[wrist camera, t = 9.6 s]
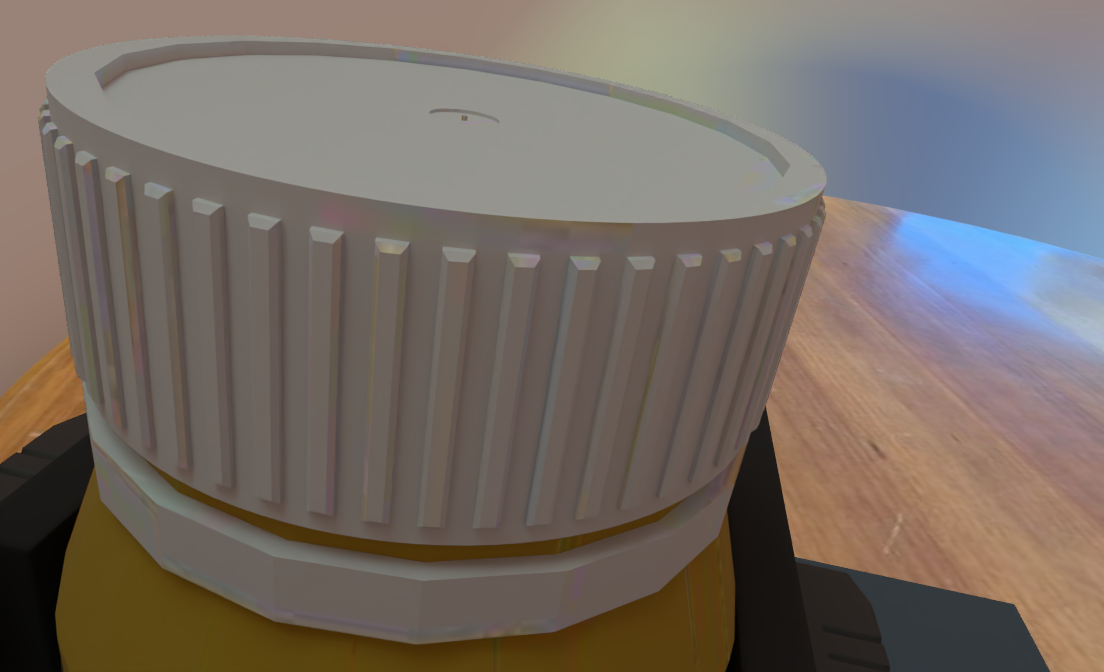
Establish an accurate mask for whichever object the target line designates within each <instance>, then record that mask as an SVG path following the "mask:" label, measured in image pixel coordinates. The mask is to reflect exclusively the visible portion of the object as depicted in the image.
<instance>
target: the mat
mask: <svg viewBox="0 0 1104 672" xmlns="http://www.w3.org/2000/svg"><path fill="white" fill-rule="evenodd" d="M795 562H799V563H804V564H808V565H813V566H817V567H822V568H826V569H831V570H835V571H840V572H845V573H848V574H849V575H850V577H851V578H852V579H853V581H854V582H855V583H856V585H857V586H858V587H859V589H860V590H861V591H862V593H863V594H864V595H865V596H866V598H867V599H868V600H869V602H870V603H871V604H872V607H873V610H874V613H875V617H876V620H877V623H878V627H879V630H880V633H881V637H882V640H881V644H882V645H884V647H885V650H886V653H887V657H888V660H889V663H890V672H1050V671H1049V669H1048V667H1047V665H1046V663H1045V661H1044V659H1043V658H1042V656H1041V654H1040V652H1039V650H1038V648H1037V646H1036V644H1035V642H1034V641H1033V639H1032V637H1031V635H1030V633H1029V631H1028V629H1027V627H1026V625H1025V624H1024V622H1023V620H1022V618H1021V616H1020V614H1019V612H1018V610H1017V609H1016V607H1015V605H1014V604H1010V603H1005V602H1001V601H996V600H991V599H987V598H982V597H977V596H973V595H968V594H963V593H959V592H954V591H950V590H945V589H940V588H936V587H931V586H926V585H922V584H917V583H912V582H908V581H903V580H899V579H894V578H889V577H885V576H880V575H875V574H871V573H866V572H862V571H857V570H852V569H848V568H843V567H838V566H834V565H829V564H824V563H820V562H815V561H811V560H806V559H801V558H797V557H795Z"/></svg>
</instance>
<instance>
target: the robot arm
mask: <svg viewBox="0 0 1104 672" xmlns="http://www.w3.org/2000/svg"><path fill="white" fill-rule="evenodd" d="M94 466H95V464H94V458H93V452H92V446H91V440H90V435H89V428H88V420H87V413H84V414H82V415H79V416H77V417H74V418H72V419H69V420H67V421H64V422H62V423H59V424H57V425H54V426H52V427H51V428H50V429H48V430H47V431H46V432H44V433H43V434H41V435H40V436H39V437H37V438H36V439H34V440H33V441H32V442H30V443H29V444H27V445H26V446H25V447H23V449H22V452H21V453H17V452H16V453H15V454H14V455H12V456H11V457H9V458H8V459H7V460H5V461H4V462H2V463H1V464H0V672H61V655H60V650H59V644H58V639H57V629H56V617H55V612H56V606H57V600H58V594H59V588H60V582H61V576H62V570H63V564H64V558H65V553H66V549H67V546H68V543H69V540H70V537H71V534H72V531H73V528H74V525H75V523H76V520H77V517H78V514H79V511H80V508H81V505H82V502H83V499H84V496H85V493H86V490H87V487H88V484H89V481H90V478H91V475H92V472H93V469H94ZM727 514H728V523H729V532H730V541H731V550H732V560H733V569H734V578H735V632H734V643H733V647H732V651H731V656H730V660H729V663H728V666H727V668H726V671H725V672H890V663H889V660H888V657H887V653H886V650H885V647H884V645H882V644H881V640H882V637H881V633H880V630H879V627H878V623H877V620H876V617H875V613H874V610H873V607H872V604H871V603H870V602H869V600H868V599H867V598H866V596H865V595H864V594H863V593H862V591H861V590H860V589H859V587H858V586H857V585H856V583H855V582H854V581H853V579H852V578H851V577H850V575H849V574H848V573H845V572H840V571H835V570H831V569H826V568H822V567H817V566H813V565H808V564H804V563H799V562H795V556H794V551H793V546H792V541H791V535H790V530H789V525H788V520H787V515H786V509H785V504H784V499H783V494H782V489H781V483H780V478H779V473H778V468H777V463H776V457H775V452H774V447H773V442H772V437H771V431H770V426H769V421H768V416H767V411H766V406H765V409H764V411H763V413H762V416H761V419H760V423H759V425H758V427H757V429H756V430H754V431H752V432H751V434H750V437H749V440H748V443H747V446H746V450H745V453H744V456H743V459H742V462H741V466H740V469H739V472H738V475H737V478H736V481H735V485H734V488H733V491H732V494H731V497H730V500H729V504H728V507H727Z"/></svg>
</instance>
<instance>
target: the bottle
mask: <svg viewBox="0 0 1104 672" xmlns="http://www.w3.org/2000/svg"><path fill="white" fill-rule="evenodd" d="M45 81H46V89H47V99H46V100H45V102H44V103H43V104H42V106H41V108H40V116H39V117H38V122H39V129H40V136H41V143H42V150H43V157H44V164H45V172H46V179H47V186H48V192H49V199H50V206H51V214H52V221H53V228H54V235H55V242H56V248H57V255H58V263H59V270H60V277H61V284H62V291H63V298H64V305H65V311H66V319H67V326H68V333H69V340H70V347H71V354H72V356H73V357H74V362H75V369H76V373H77V375H78V377H79V378H80V379H81V380H82V384H83V391H84V399H85V406H86V413H87V420H88V428H89V435H90V440H91V446H92V452H93V458H94V464H95V466H94V469H93V472H92V475H91V478H90V481H89V484H88V487H87V490H86V493H85V496H84V499H83V502H82V505H81V508H80V511H79V514H78V517H77V520H76V523H75V525H74V528H73V531H72V534H71V537H70V540H69V543H68V546H67V549H66V553H65V558H64V564H63V570H62V576H61V582H60V588H59V594H58V600H57V606H56V612H55V617H56V629H57V639H58V644H59V650H60V655H61V672H725V671H726V668H727V666H728V663H729V660H730V656H731V651H732V647H733V643H734V632H735V578H734V569H733V560H732V550H731V541H730V532H729V523H728V514H727V507H728V504H729V500H730V497H731V494H732V491H733V488H734V485H735V481H736V478H737V475H738V472H739V469H740V466H741V462H742V459H743V456H744V453H745V450H746V446H747V443H748V440H749V437H750V434H751V432H752V431H754V430H756V429H757V427H758V425H759V423H760V419H761V416H762V413H763V411H764V409H765V406H766V403H767V400H768V397H769V393H770V390H771V387H772V384H773V381H774V378H775V374H776V371H777V368H778V365H779V362H780V359H781V356H782V352H783V349H784V346H785V343H786V340H787V337H788V334H789V330H790V327H791V324H792V321H793V318H794V315H795V311H796V308H797V305H798V302H799V299H800V296H801V293H802V289H803V286H804V283H805V280H806V277H807V274H808V271H809V267H810V264H811V261H812V258H813V255H814V252H815V248H816V245H817V242H818V239H819V236H820V233H821V230H822V226H823V223H824V220H825V217H826V212H825V203H824V201H823V198H822V195H823V192H824V188H825V185H826V181H827V180H826V174H825V171H824V169H823V168H822V166H821V165H820V164H819V162H818V161H817V160H816V159H815V158H814V157H812V156H811V155H810V154H809V153H807V152H806V151H805V150H803V149H802V148H800V147H799V146H797V145H796V144H794V143H792V142H790V141H789V140H787V139H785V138H783V137H781V136H779V135H777V134H775V133H773V132H771V131H769V130H766V129H764V128H762V127H759V126H757V125H755V124H752V123H750V122H747V121H745V120H742V119H739V118H737V117H734V116H732V115H729V114H726V113H723V112H720V111H717V110H714V109H711V108H708V107H705V106H702V105H699V104H695V103H692V102H689V101H685V100H682V99H679V98H675V97H672V96H668V95H665V94H661V93H657V92H654V91H649V90H646V89H642V88H638V87H634V86H630V85H625V84H622V83H617V82H613V81H608V80H604V79H600V78H595V77H590V76H586V75H581V74H576V73H571V72H566V71H561V70H556V69H551V68H546V67H540V66H535V65H529V64H524V63H518V62H511V61H506V60H500V59H494V58H487V57H481V56H474V55H467V54H460V53H453V52H445V51H438V50H429V49H421V48H414V47H404V46H395V45H386V44H376V43H365V42H354V41H342V40H341V41H340V40H328V39H313V38H293V37H270V36H191V37H190V36H189V37H188V36H187V37H168V38H154V39H143V40H135V41H126V42H120V43H113V44H108V45H102V46H98V47H94V48H89V49H86V50H82V51H79V52H76V53H73V54H71V55H68V56H66V57H64V58H62V59H61V60H59V61H57V62H56V63H55V64H53V65H52V66H51V67H50V68H49V70H48V72H47V74H46V77H45Z"/></svg>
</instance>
